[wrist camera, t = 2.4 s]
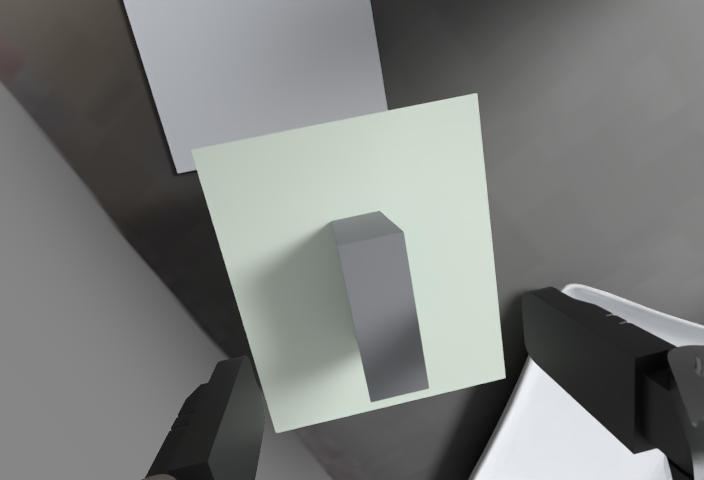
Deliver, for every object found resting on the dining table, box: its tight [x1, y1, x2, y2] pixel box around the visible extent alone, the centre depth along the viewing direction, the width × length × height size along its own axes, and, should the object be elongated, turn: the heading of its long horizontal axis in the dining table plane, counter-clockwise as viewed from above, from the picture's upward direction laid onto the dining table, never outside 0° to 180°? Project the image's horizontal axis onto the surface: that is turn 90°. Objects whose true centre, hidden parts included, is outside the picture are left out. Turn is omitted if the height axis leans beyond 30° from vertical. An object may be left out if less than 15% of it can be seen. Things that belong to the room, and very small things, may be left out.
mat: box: [123, 0, 388, 173], centre depth 21 cm, size 14×15×1 cm
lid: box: [191, 93, 506, 433], centre depth 16 cm, size 12×14×7 cm
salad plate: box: [468, 283, 704, 480], centre depth 30 cm, size 21×21×3 cm
